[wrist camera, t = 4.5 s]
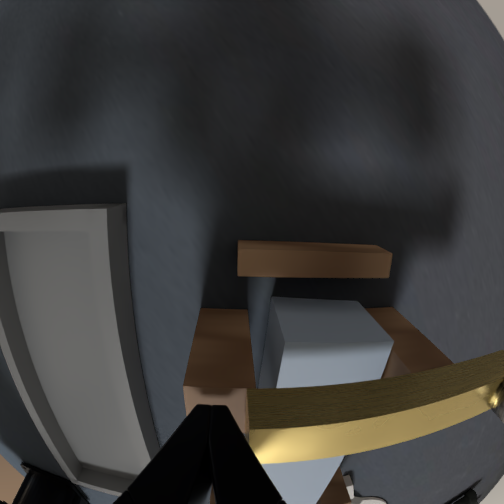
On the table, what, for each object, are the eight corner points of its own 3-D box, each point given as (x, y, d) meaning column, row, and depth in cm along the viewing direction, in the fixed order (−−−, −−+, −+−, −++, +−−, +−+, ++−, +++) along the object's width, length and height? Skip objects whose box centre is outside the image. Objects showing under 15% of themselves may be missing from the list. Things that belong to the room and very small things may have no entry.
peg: (240, 485, 17) (242, 527, 13) (270, 293, 13) (285, 341, 9) (293, 484, 17) (301, 525, 13) (355, 298, 13) (394, 340, 9)
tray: (79, 465, 15) (72, 482, 13) (-1, 208, 11) (-26, 214, 9) (171, 485, 16) (168, 505, 14) (126, 203, 11) (106, 208, 9)
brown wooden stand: (212, 486, 16) (211, 543, 11) (200, 238, 12) (175, 284, 7) (332, 479, 17) (348, 530, 12) (403, 246, 12) (479, 284, 7)
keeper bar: (244, 428, 8) (249, 497, 5) (246, 384, 7) (252, 459, 5) (489, 382, 8) (521, 414, 6) (505, 346, 8) (543, 376, 5)
